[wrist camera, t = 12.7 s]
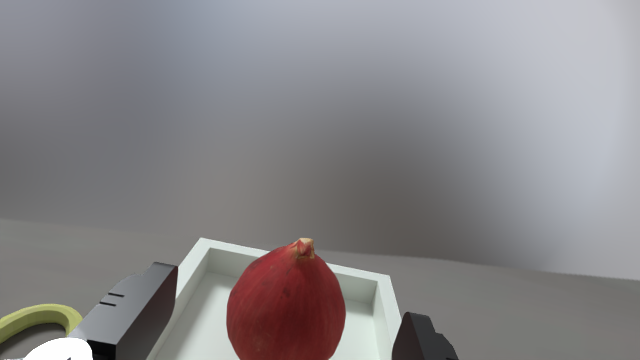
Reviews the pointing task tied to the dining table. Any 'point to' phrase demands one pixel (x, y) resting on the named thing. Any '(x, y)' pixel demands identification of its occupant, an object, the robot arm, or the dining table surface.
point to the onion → (286, 307)
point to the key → (39, 319)
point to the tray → (221, 276)
